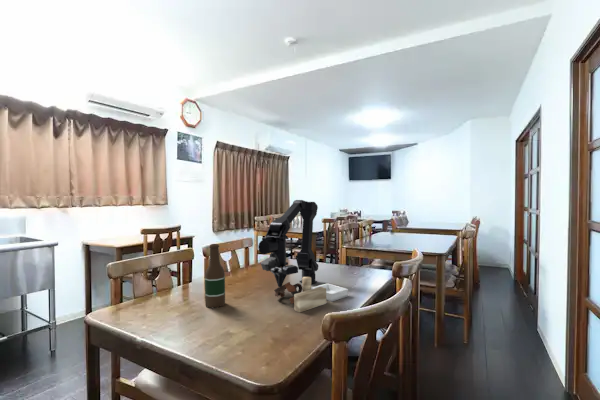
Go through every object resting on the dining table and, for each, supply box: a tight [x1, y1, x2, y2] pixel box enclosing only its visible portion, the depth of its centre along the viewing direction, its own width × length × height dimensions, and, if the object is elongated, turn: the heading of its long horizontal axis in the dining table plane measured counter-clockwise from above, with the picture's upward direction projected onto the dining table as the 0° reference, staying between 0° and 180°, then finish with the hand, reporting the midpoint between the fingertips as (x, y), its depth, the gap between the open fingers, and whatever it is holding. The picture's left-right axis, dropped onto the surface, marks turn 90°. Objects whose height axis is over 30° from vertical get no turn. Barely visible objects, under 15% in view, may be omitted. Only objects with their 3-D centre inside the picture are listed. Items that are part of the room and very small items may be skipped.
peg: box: [301, 277, 312, 292], centre depth 139 cm, size 4×4×6 cm
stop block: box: [293, 287, 327, 313], centre depth 119 cm, size 3×14×6 cm, turn 131°
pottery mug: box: [274, 281, 303, 305], centre depth 129 cm, size 12×10×8 cm
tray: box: [311, 282, 349, 302], centre depth 133 cm, size 12×10×3 cm
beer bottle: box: [204, 243, 226, 308], centre depth 123 cm, size 8×8×24 cm
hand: (279, 286), depth 134 cm, fingers closed
